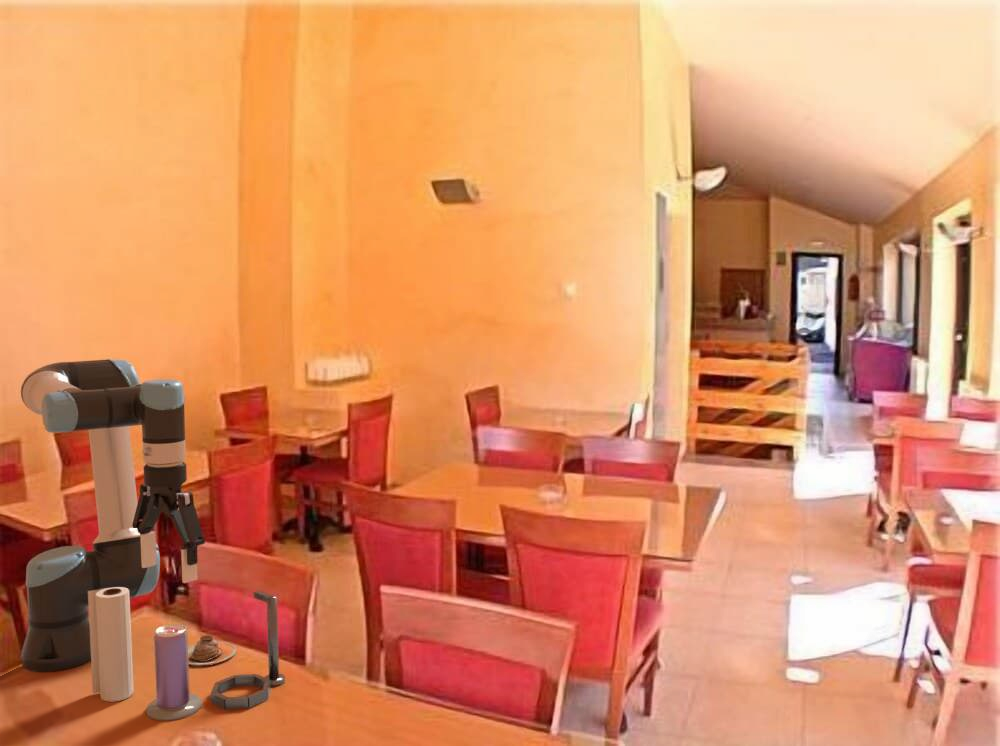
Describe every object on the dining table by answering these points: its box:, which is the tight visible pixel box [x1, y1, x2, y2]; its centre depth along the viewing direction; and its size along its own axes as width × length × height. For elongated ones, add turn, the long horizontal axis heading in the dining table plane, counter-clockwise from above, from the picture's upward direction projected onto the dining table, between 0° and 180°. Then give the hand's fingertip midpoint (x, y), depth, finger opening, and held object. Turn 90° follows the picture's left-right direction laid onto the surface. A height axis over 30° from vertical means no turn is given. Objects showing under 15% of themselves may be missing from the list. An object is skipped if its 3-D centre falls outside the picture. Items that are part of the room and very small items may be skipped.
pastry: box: [188, 635, 237, 667], centre depth 199 cm, size 12×12×5 cm
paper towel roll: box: [88, 587, 134, 703], centre depth 179 cm, size 7×6×21 cm
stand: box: [210, 590, 286, 710], centre depth 181 cm, size 11×16×18 cm
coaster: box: [145, 693, 203, 721], centre depth 175 cm, size 10×10×1 cm
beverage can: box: [153, 623, 191, 711], centre depth 174 cm, size 6×6×15 cm
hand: (169, 573), depth 172 cm, fingers open, 13 cm apart
